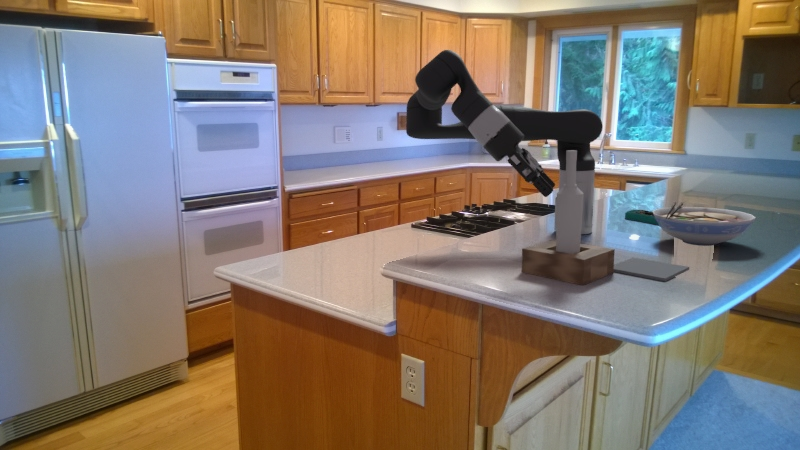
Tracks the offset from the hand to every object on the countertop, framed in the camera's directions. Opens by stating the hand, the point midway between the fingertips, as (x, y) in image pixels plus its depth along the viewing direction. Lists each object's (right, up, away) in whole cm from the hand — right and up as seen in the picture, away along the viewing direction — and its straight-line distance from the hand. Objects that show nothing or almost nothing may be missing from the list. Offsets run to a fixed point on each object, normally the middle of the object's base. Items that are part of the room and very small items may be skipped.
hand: (551, 191), depth 117 cm
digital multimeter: (+46, -6, +59) cm, 75 cm away
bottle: (+4, -17, +3) cm, 18 cm away
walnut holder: (+4, -17, +3) cm, 17 cm away
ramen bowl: (+44, -12, +28) cm, 54 cm away
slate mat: (+21, -16, +4) cm, 27 cm away
